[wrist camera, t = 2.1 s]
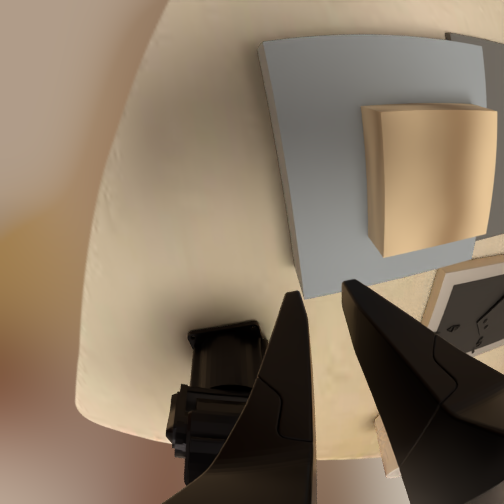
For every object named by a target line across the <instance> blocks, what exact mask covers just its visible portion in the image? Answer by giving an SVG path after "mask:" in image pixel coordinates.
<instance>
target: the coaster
mask: <svg viewBox="0 0 504 504" xmlns="http://www.w3.org/2000/svg"><path fill="white" fill-rule="evenodd" d="M361 113H362V123H363V134H364V146H365V160H366V177H367V203H368V237H369V238H370V240H371V241H372V243H373V244H374V245H375V247H376V248H377V250H378V251H379V252H380V254H381V255H382V257H383V258H386V257H390V256H395V255H399V254H404V253H408V252H413V251H417V250H421V249H426V248H430V247H434V246H438V245H443V244H447V243H451V242H455V241H459V240H463V239H467V238H472V237H476V236H480V235H484V234H486V231H487V225H488V220H489V214H490V207H491V200H492V193H493V184H494V175H495V163H496V148H497V111H494V110H491V109H488V108H484V107H481V106H477V105H474V104H462V103H407V104H384V105H369V106H361Z"/></svg>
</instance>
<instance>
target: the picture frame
mask: <svg viewBox="0 0 504 504" xmlns="http://www.w3.org/2000/svg"><path fill="white" fill-rule="evenodd" d="M421 323H422V324H423V325H424V326H426V327H427V328H429V329H430V330H432V331H433V332H435V335H436V334H438V335H439V336H440V337H442V338H443V339H445V340H446V341H448V342H449V343H451V344H452V345H454V346H455V347H457V348H458V349H460V350H461V351H463V352H465V353H466V354H468V355H470V356H472V357H474V356H477V355H479V354H482V353H485V352H487V351H490V350H492V349H495V348H497V347H500V346H502V345H504V254H501V255H495V256H490V257H484V258H478V259H472V260H467V261H463V262H460V263H456V264H453V265H449V266H445V267H442V268H438V269H437V272H436V276H435V280H434V283H433V286H432V290H431V293H430V296H429V299H428V303H427V306H426V309H425V312H424V315H423V318H422V321H421Z"/></svg>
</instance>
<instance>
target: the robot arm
mask: <svg viewBox="0 0 504 504" xmlns="http://www.w3.org/2000/svg"><path fill="white" fill-rule="evenodd" d="M341 287H342V307H343V311H344V315H345V318H346V322H347V325H348V329H349V332H350V336H351V340H352V343H353V347H354V350H355V353H356V356H357V358H358V361H359V363H360V366H361V368H362V371H363V373H364V375H365V378H366V381H367V383H368V386H369V388H370V391H371V393H372V396H373V398H374V401H375V404H376V406H377V409H378V411H379V414H380V417H381V419H382V422H383V425H384V428H385V430H386V433H387V436H388V438H389V441H390V444H391V447H392V450H393V453H394V455H395V458H396V461H397V464H398V467H399V470H400V473H401V476H402V479H403V482H404V485H405V488H406V491H407V494H408V498H409V501H410V504H504V375H503V374H502V373H500V372H498V371H496V370H494V369H493V368H491V367H489V366H487V365H486V364H484V363H482V362H480V361H479V360H477V359H475V358H473V357H472V356H470V355H468V354H466V353H465V352H463V351H461V350H460V349H458V348H457V347H455V346H454V345H452V344H451V343H449V342H448V341H446V340H445V339H443V338H442V337H440V336H439V335H438V334H436V335H435V332H433V331H432V330H430V329H429V328H427V327H426V326H424V325H423V324H422V323H420V322H419V321H417V320H416V319H414V318H413V317H411V316H410V315H409V314H407V313H406V312H404V311H403V310H401V309H400V308H398V307H397V306H395V305H394V304H392V303H391V302H389V301H388V300H386V299H385V298H383V297H382V296H380V295H379V294H378V293H376V292H375V291H373V290H372V289H370V288H369V287H367V286H366V285H364V284H362V283H361V282H359V281H358V280H356V279H350V280H345V281H343V282H342V286H341ZM253 326H255V327H253ZM193 336H195V337H193ZM188 340H189V342H190V344H191V346H192V348H193V359H192V370H191V381H190V386H188V385H185V384H181V389H180V392H177V393H176V394H174V395H172V399H171V407H170V414H169V419H168V423H167V428H166V437H167V438H168V439H169V441H170V442H171V443H172V448H175V457H178V458H185V467H184V468H185V469H184V482H185V484H186V487H185V488H183V489H182V490H181V491H179V492H178V493H176V494H175V495H173V496H172V497H171V498H169V499H168V500H166V501H165V502H163V503H162V504H317V466H316V430H315V406H314V386H313V369H312V357H311V345H310V335H309V324H308V317H307V313H306V310H305V307H304V304H303V301H302V298H301V294H300V292H299V291H292V292H287V293H286V294H285V296H284V299H283V302H282V305H281V308H280V311H279V314H278V317H277V320H276V323H275V326H274V329H273V332H272V335H271V338H270V341H269V343H268V340H267V339H263V338H262V334H261V330H260V326H259V323H258V322H256V321H251V322H246V323H240V324H234V325H228V326H221V327H215V328H208V329H202V330H195V331H190V332H189V333H188Z"/></svg>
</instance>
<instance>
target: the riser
mask: <svg viewBox="0 0 504 504" xmlns="http://www.w3.org/2000/svg"><path fill="white" fill-rule="evenodd" d="M257 52H258V57H259V61H260V66H261V71H262V76H263V81H264V86H265V91H266V96H267V102H268V107H269V112H270V117H271V123H272V128H273V134H274V139H275V145H276V151H277V156H278V162H279V168H280V174H281V180H282V186H283V192H284V198H285V205H286V211H287V218H288V224H289V231H290V238H291V244H292V251H293V258H294V265H295V269H296V273H297V276H298V280H299V283H300V286H301V290H302V293H303V297H304V300H305V299H310V298H315V297H320V296H325V295H329V294H334V293H339V292H342V287H341V286H342V282H343V281H345V280H350V279H356V280H358V281H359V282H361V283H362V284H364V285H366V286H370V285H374V284H378V283H383V282H387V281H391V280H395V279H399V278H403V277H407V276H411V275H415V274H419V273H423V272H427V271H430V270H434V269H438V268H442V267H445V266H449V265H453V264H456V263H460V262H463V261H467V260H470V259H472V254H473V250H474V245H475V239H476V237H472V238H467V239H463V240H459V241H455V242H451V243H447V244H443V245H438V246H434V247H430V248H426V249H421V250H417V251H413V252H408V253H404V254H399V255H395V256H390V257H386V258H383V257H382V255H381V254H380V252H379V251H378V250H377V248H376V247H375V245H374V244H373V243H372V241H371V240H370V238H369V237H368V203H367V177H366V160H365V146H364V134H363V123H362V113H361V106H369V105H384V104H407V103H462V104H474V105H477V106H481V107H484V108H487V103H486V82H485V70H484V60H483V51H482V46H478V45H473V44H467V43H461V42H455V41H448V40H441V39H433V38H424V37H413V36H399V35H371V34H352V35H324V36H310V37H298V38H288V39H280V40H272V41H265V42H262V43H261V45H260V46H259V47H258V48H257Z"/></svg>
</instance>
